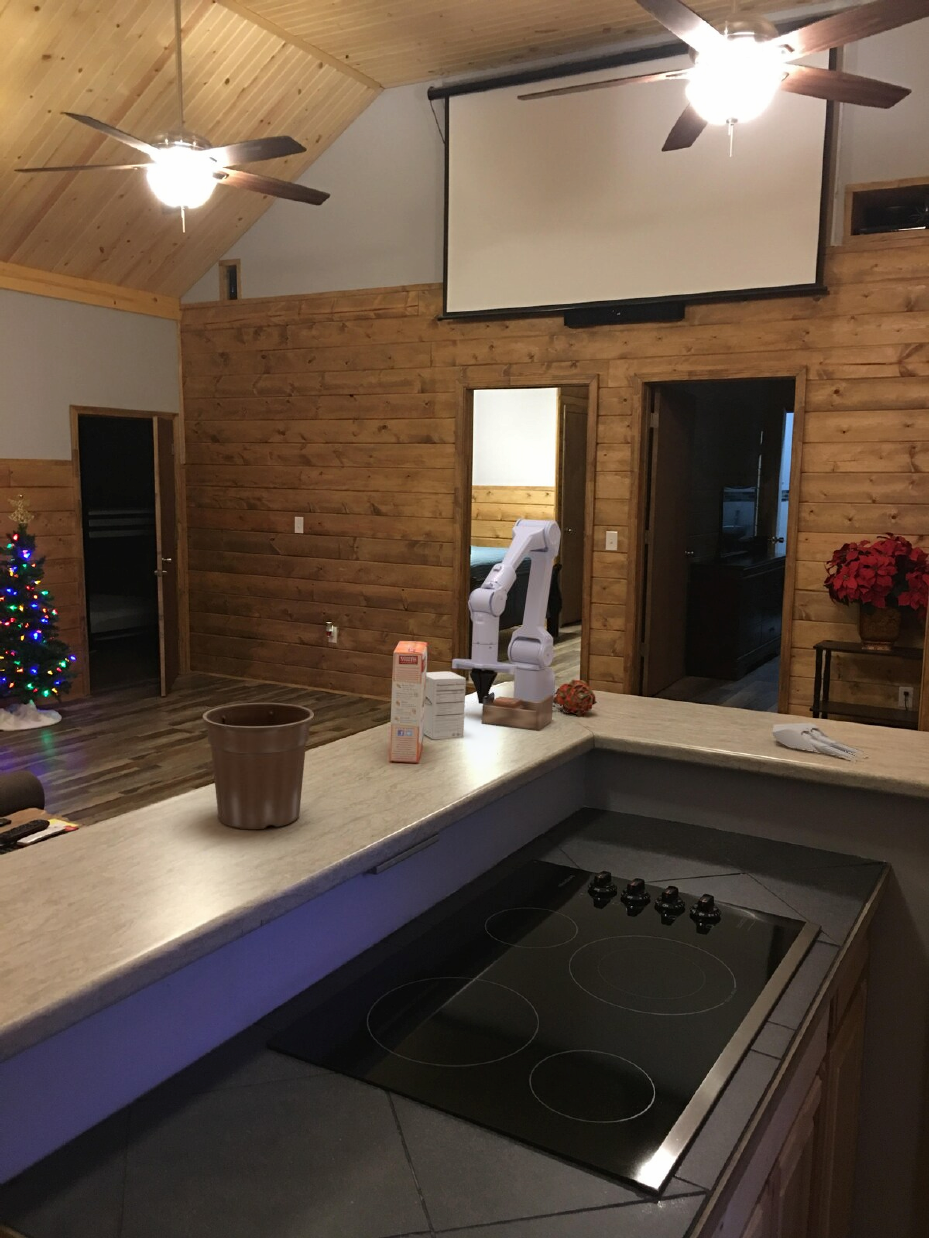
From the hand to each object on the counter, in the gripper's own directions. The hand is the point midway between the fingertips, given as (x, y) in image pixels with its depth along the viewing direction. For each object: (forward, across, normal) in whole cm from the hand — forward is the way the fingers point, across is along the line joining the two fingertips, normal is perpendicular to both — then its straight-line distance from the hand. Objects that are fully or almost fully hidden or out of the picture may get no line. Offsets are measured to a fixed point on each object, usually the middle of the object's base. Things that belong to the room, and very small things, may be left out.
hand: (482, 702), depth 223 cm
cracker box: (+4, -2, -35) cm, 36 cm away
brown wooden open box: (+4, +8, 0) cm, 9 cm away
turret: (+4, +70, +8) cm, 71 cm away
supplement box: (+4, -2, -18) cm, 19 cm away
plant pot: (+4, -7, -80) cm, 80 cm away
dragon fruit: (+4, +17, +16) cm, 24 cm away
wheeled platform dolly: (+3, +5, 0) cm, 6 cm away
